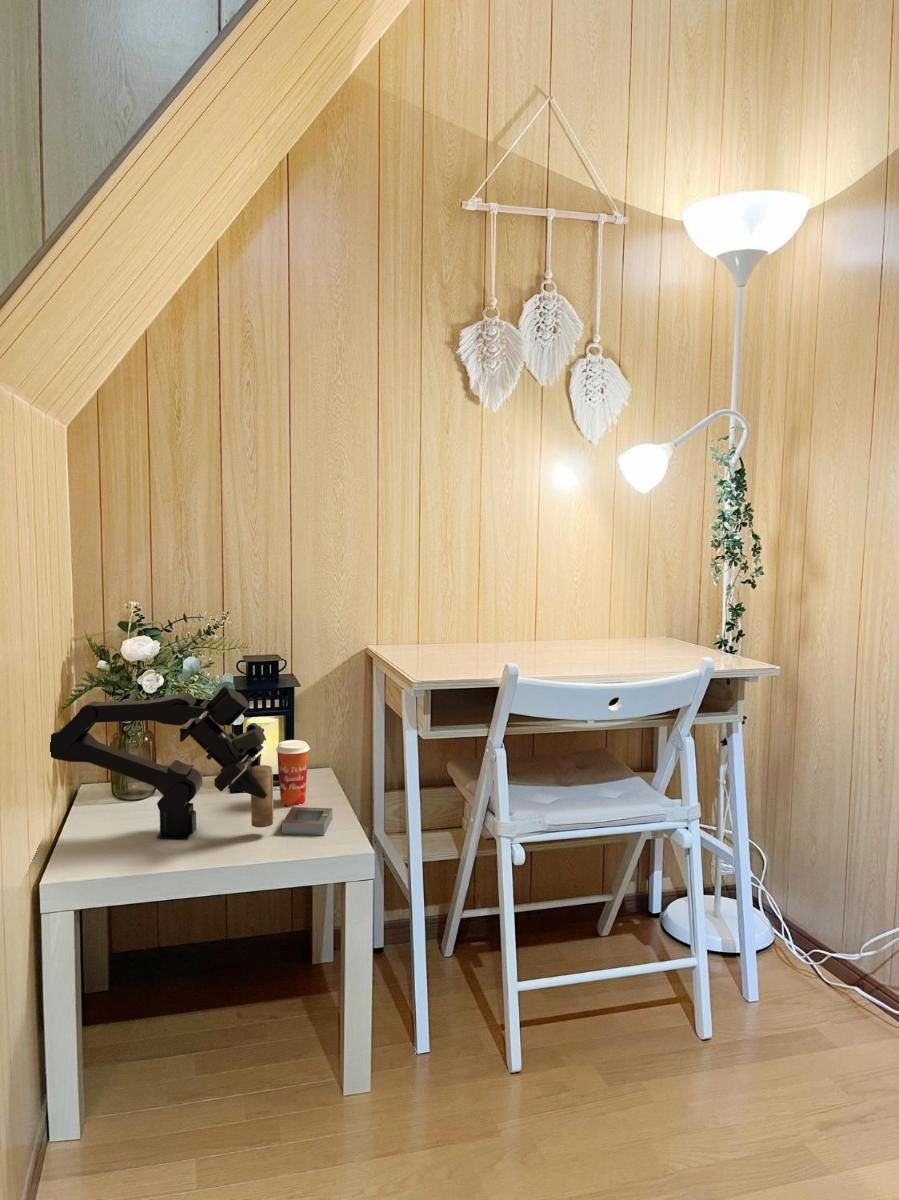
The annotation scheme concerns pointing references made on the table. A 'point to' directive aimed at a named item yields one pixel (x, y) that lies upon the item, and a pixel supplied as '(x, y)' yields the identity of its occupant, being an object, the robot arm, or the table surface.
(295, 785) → the paper cup
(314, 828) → the grey square socket base
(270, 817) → the walnut peg
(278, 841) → the table surface
